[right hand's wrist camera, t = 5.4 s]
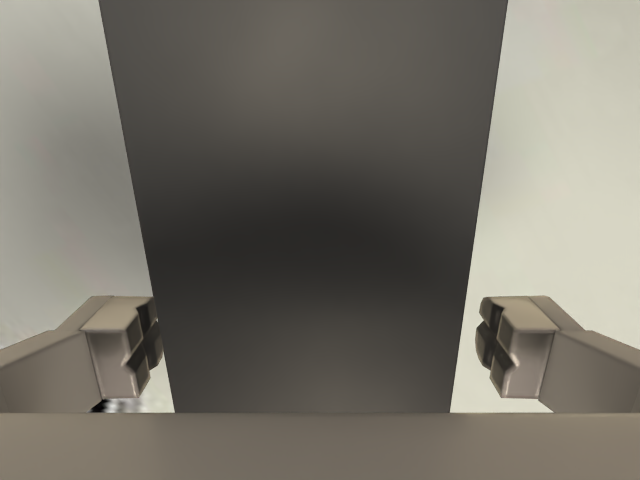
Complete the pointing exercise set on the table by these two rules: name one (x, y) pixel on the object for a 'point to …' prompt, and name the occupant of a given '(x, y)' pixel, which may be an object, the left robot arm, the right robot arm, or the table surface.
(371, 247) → the box
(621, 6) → the table surface
